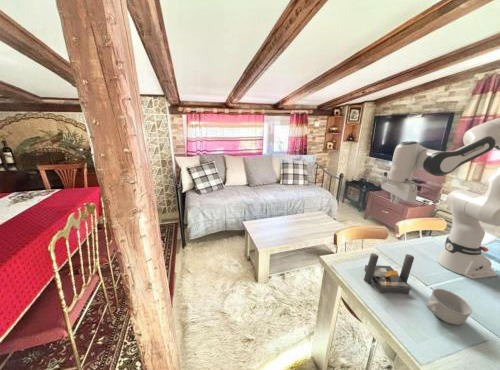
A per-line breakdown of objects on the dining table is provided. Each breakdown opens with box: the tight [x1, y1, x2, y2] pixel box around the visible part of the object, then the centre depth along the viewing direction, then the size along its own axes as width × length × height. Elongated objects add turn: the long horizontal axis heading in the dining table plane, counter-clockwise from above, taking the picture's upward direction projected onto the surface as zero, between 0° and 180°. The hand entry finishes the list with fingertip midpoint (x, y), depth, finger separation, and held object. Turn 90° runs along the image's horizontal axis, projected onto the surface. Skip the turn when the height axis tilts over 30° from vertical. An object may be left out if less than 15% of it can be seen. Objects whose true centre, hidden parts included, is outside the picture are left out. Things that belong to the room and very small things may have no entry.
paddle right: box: [374, 268, 387, 277], centre depth 90 cm, size 2×2×7 cm
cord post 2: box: [399, 254, 415, 284], centre depth 91 cm, size 3×3×14 cm
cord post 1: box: [363, 253, 379, 284], centre depth 92 cm, size 3×3×14 cm
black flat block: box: [364, 264, 411, 295], centre depth 93 cm, size 12×14×3 cm
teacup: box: [426, 288, 473, 326], centre depth 76 cm, size 14×11×8 cm
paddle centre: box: [384, 270, 399, 277], centre depth 90 cm, size 2×2×7 cm
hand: (394, 203), depth 99 cm, fingers closed
